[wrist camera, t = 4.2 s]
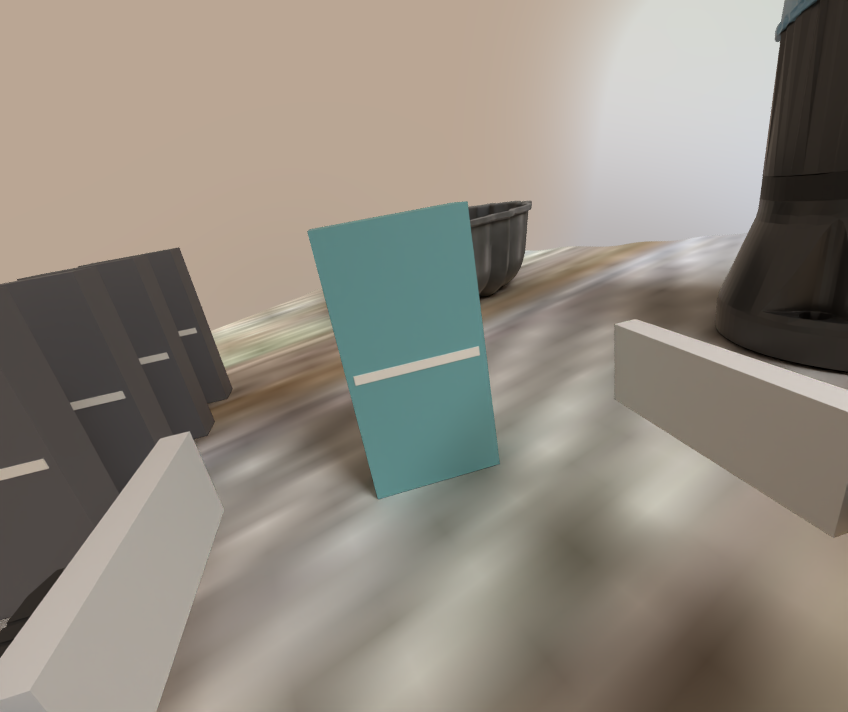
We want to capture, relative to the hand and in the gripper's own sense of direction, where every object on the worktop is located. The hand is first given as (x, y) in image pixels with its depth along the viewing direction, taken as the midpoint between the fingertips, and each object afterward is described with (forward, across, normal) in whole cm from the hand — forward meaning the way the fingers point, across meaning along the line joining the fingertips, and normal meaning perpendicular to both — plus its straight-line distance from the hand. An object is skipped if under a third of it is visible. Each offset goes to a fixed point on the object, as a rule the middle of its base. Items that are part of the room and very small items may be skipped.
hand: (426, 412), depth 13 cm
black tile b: (+11, -16, -6) cm, 20 cm away
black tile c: (+17, -16, -6) cm, 24 cm away
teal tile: (+6, +1, -6) cm, 9 cm away
